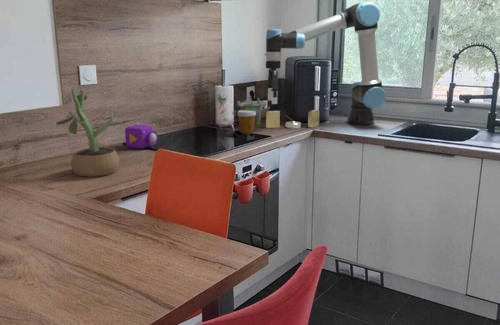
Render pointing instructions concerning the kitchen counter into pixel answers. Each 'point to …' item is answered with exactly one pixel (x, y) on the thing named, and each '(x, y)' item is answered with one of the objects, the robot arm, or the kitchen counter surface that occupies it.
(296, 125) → the base plate
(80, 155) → the potted plant
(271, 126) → the tan striped slab
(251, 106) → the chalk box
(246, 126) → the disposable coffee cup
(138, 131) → the toy camera
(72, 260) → the kitchen counter surface
